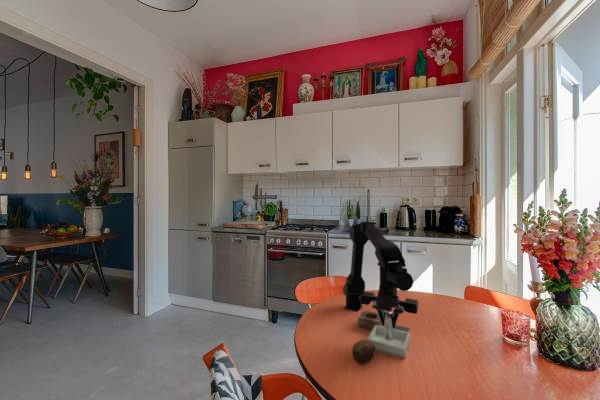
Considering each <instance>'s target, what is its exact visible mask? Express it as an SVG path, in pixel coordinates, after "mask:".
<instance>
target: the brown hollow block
mask: <svg viewBox="0 0 600 400" xmlns="http://www.w3.org/2000/svg"><path fill="white" fill-rule="evenodd" d="M357 319H358V321H357V327H358V329H362V330H366V331H370V332H372V330H373V329H374V327H375V325H377V326H382V327H384V326H383V324H382V322H381V319H380V316H379V314H378V312H375V311H369V310H363V312H362V313H360V315H359V316H358V318H357Z"/></svg>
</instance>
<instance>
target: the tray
mask: <svg viewBox="0 0 600 400" xmlns="http://www.w3.org/2000/svg"><path fill="white" fill-rule="evenodd" d="M366 340H367V341H371V342H372V343H373V344H374V345H375V352H378V353H382V354H386V355H389V356H394V357H398V358H401V359H406V355H407V351H408V349H409V346H410V342H411V332H405V331H400V330H396V329H393V340H392V341H388V340H385V339H384V326H383V327H382V326H377V325H375V327H374V329H373V330H372V331H370V333H369V335H368V336H367V338H366Z"/></svg>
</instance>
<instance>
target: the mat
mask: <svg viewBox="0 0 600 400" xmlns="http://www.w3.org/2000/svg"><path fill="white" fill-rule="evenodd" d="M393 329H396V330H400V331H405V332H409V331H410V327H406V326H401V325H397V324H395V327H394V328H393ZM409 333H410V332H409Z"/></svg>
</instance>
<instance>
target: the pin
mask: <svg viewBox="0 0 600 400" xmlns="http://www.w3.org/2000/svg"><path fill="white" fill-rule="evenodd" d="M393 316H394V311H393V310H391V311H386V310H385V311H384V326H383V327H384V339H385V340H388V341H392V340H393Z"/></svg>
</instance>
